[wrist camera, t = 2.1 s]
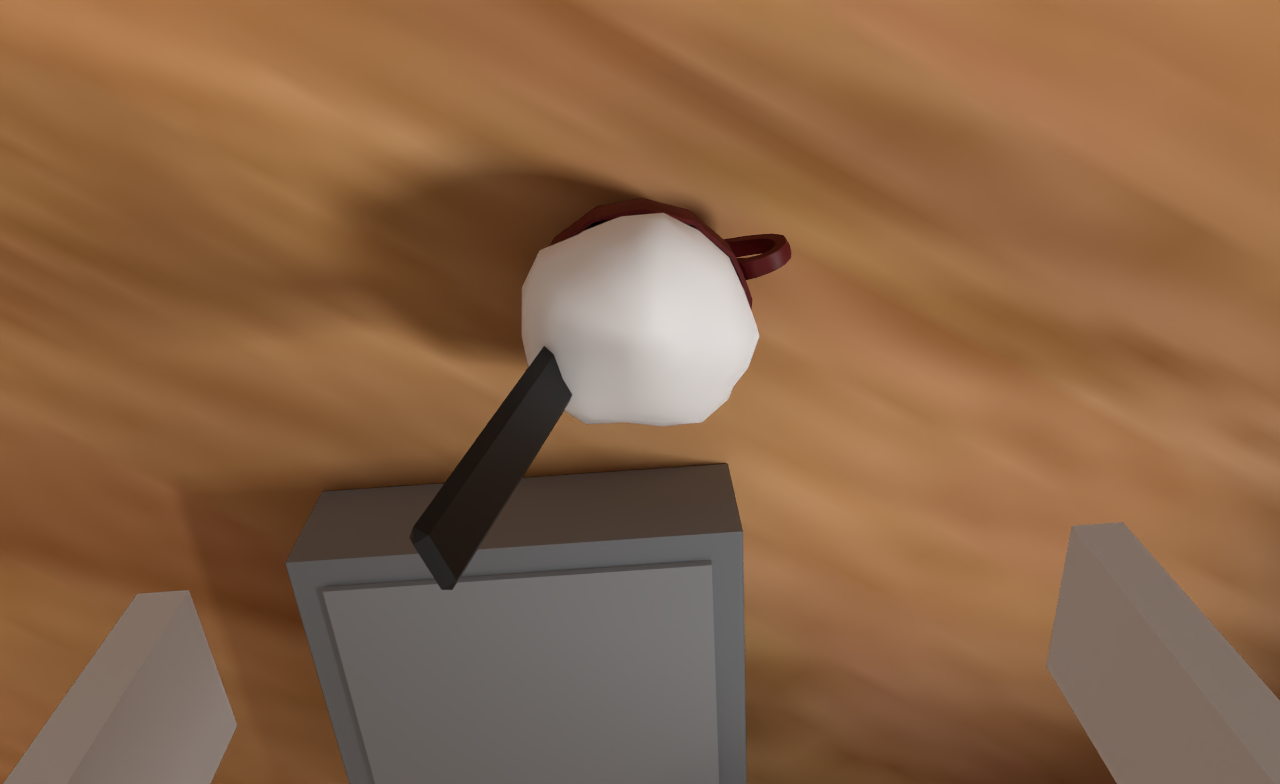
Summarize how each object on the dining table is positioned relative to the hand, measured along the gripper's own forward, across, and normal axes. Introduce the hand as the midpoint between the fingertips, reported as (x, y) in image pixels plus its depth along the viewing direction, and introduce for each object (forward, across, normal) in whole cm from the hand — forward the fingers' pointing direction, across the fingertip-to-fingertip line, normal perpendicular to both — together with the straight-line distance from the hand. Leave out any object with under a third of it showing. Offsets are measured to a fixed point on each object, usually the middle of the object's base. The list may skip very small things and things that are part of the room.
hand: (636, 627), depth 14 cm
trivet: (+16, +4, +14) cm, 22 cm away
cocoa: (+16, 0, 0) cm, 16 cm away
